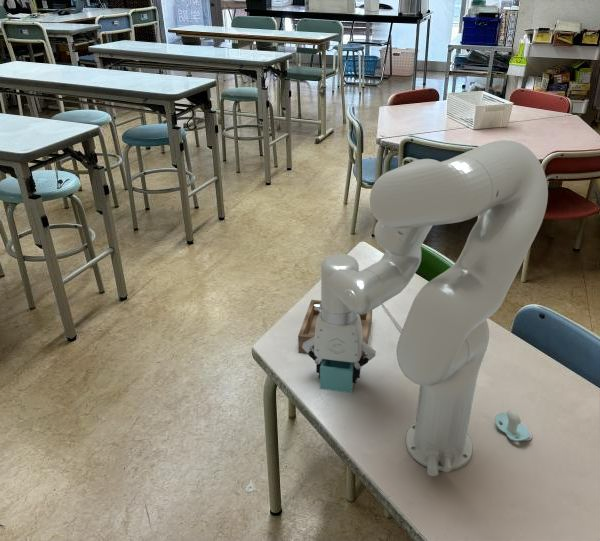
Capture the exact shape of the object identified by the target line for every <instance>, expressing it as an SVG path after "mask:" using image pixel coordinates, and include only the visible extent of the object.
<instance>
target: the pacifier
mask: <svg viewBox="0 0 600 541" xmlns="http://www.w3.org/2000/svg"><path fill="white" fill-rule="evenodd" d="M494 422H495V423H494V424H495V425H496V428H498V430H500V431H501V432H503V433H504V434H505V435H506V436H507V438H508V439H509V440H511V441H514V442H523V441H530V440H532V439H533V433H532V430H531V429H530V428H529V426H528V425H526V424H525V423H524V422H523V421H522V420H521V418H520V416H519V414H518V413H517V411H515V410H514V409H509V410H508V411H507V413H506V412H499V413H497V414H496V416H495V419H494ZM500 423H501V424H500Z"/></svg>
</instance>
